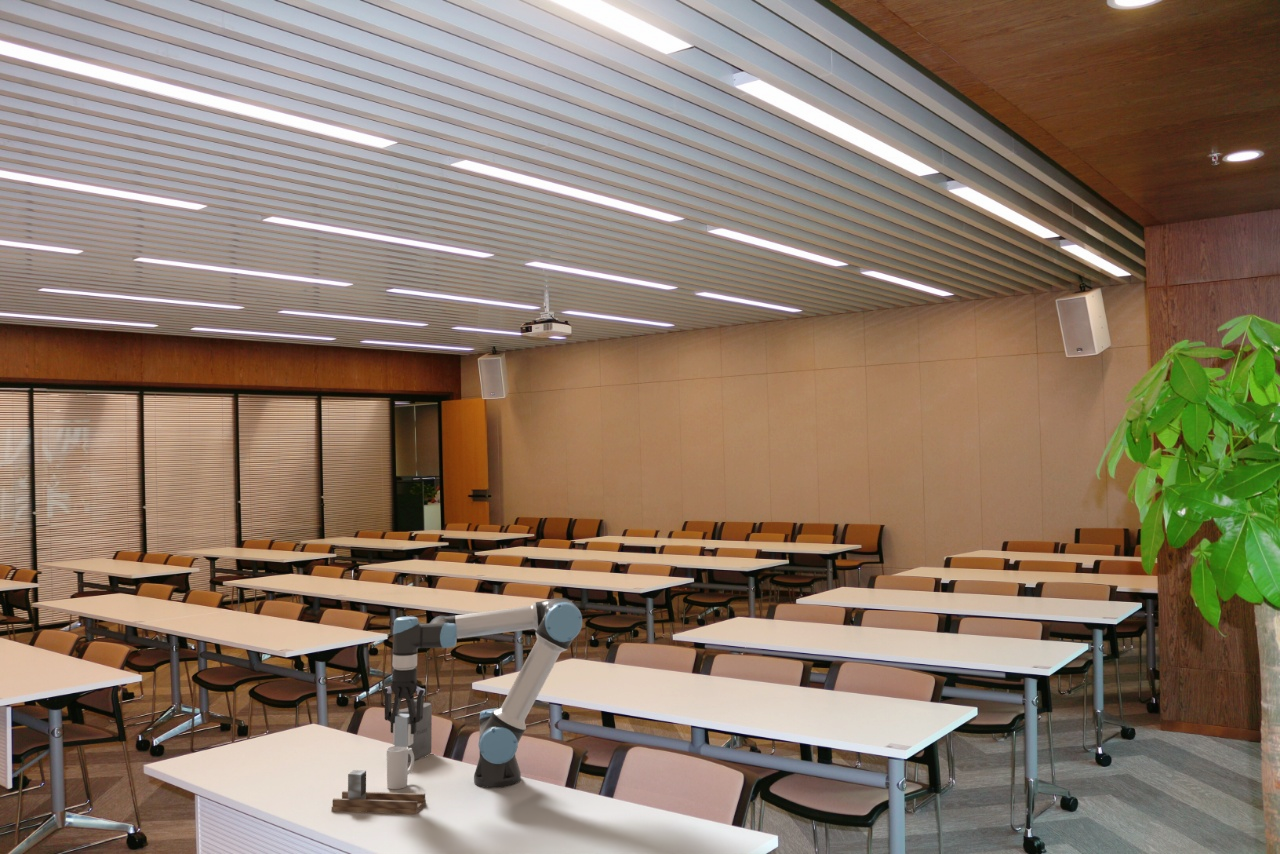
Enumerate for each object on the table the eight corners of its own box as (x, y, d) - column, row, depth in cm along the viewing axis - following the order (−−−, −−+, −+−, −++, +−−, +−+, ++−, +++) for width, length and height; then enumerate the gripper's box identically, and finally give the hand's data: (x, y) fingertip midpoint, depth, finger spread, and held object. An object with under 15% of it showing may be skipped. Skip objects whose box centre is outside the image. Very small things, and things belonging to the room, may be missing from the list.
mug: (394, 791, 303) (395, 752, 303) (382, 786, 307) (382, 748, 307) (420, 782, 310) (420, 745, 311) (407, 778, 315) (407, 742, 315)
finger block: (411, 743, 297) (412, 714, 297) (406, 747, 293) (407, 717, 293) (399, 742, 297) (400, 713, 298) (394, 746, 294) (394, 716, 294)
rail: (425, 803, 291) (426, 769, 291) (415, 814, 282) (415, 779, 282) (344, 800, 294) (344, 767, 294) (331, 811, 285) (331, 776, 285)
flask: (407, 764, 331) (408, 705, 332) (395, 761, 334) (395, 703, 335) (436, 752, 344) (436, 696, 345) (423, 750, 347) (423, 695, 348)
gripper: (435, 666, 299) (433, 742, 297) (384, 664, 301) (382, 739, 300) (426, 671, 291) (424, 748, 290) (373, 668, 294) (371, 745, 293)
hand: (403, 743), depth 295 cm, fingers closed on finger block, 4 cm apart
